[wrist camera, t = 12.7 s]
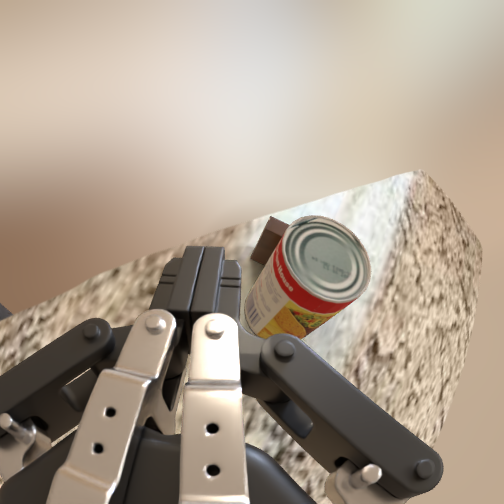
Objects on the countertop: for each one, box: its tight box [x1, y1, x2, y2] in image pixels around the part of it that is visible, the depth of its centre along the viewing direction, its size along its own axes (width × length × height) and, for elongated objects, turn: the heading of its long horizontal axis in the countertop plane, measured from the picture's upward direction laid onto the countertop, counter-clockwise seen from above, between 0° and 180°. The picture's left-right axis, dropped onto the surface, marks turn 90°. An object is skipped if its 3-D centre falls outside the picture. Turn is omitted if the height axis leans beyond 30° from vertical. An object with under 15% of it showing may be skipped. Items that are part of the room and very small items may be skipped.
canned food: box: [244, 215, 371, 340], centre depth 27 cm, size 8×8×12 cm
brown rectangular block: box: [250, 216, 290, 265], centre depth 32 cm, size 10×2×6 cm, turn 70°
